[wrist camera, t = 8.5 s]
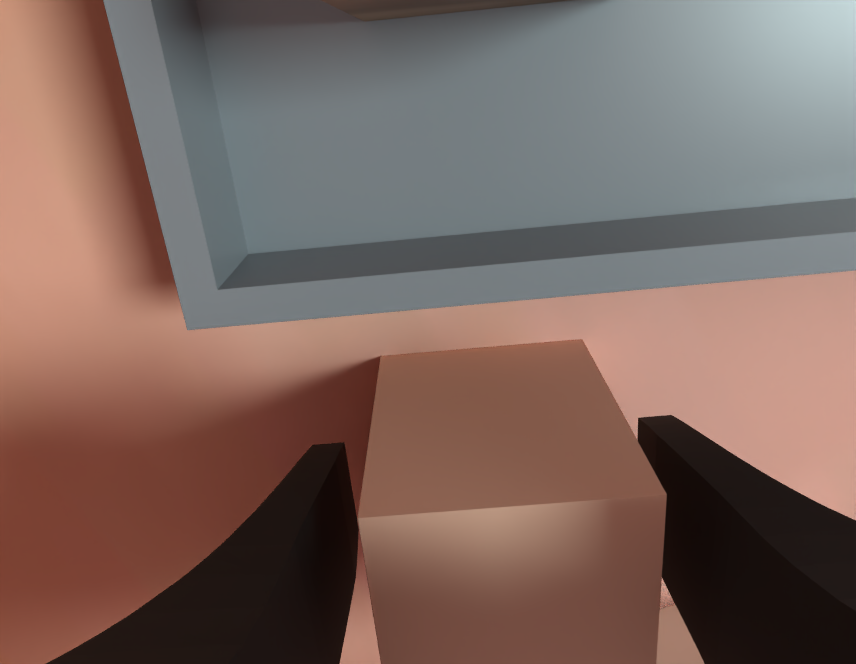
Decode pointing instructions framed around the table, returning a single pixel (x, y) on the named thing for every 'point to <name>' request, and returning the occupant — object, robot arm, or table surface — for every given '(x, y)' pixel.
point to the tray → (488, 149)
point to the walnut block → (420, 7)
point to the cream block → (675, 640)
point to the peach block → (509, 512)
